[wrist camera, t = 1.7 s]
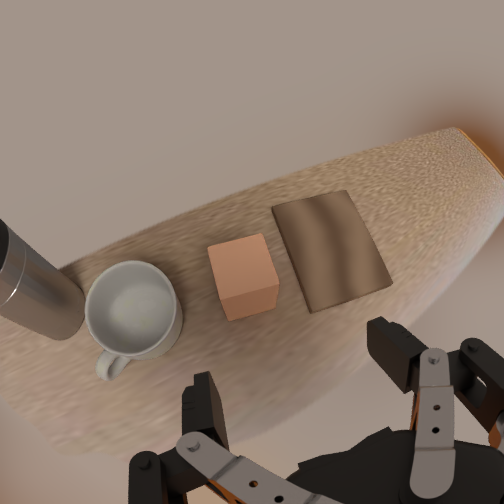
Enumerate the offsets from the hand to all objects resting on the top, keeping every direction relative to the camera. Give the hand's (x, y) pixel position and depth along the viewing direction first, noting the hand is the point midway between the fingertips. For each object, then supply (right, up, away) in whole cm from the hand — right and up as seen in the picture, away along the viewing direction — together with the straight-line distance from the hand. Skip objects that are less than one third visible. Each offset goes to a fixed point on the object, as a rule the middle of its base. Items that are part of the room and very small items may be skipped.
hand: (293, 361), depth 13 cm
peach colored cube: (-3, 0, +24) cm, 24 cm away
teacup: (-16, -5, +22) cm, 28 cm away
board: (+9, +6, +27) cm, 29 cm away
